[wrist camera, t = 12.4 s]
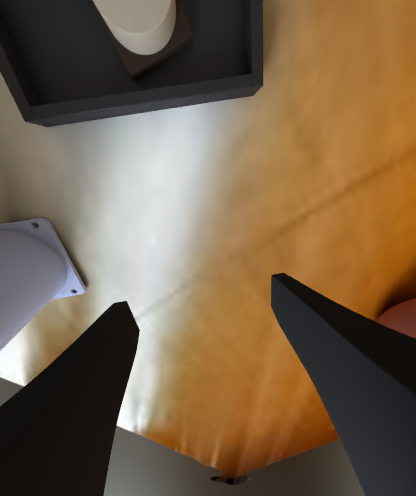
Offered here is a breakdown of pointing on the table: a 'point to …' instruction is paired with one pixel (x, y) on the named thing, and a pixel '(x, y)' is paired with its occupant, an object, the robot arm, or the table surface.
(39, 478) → the robot arm
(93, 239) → the table surface
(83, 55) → the tray
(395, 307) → the balloon
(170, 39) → the red-based arched block
